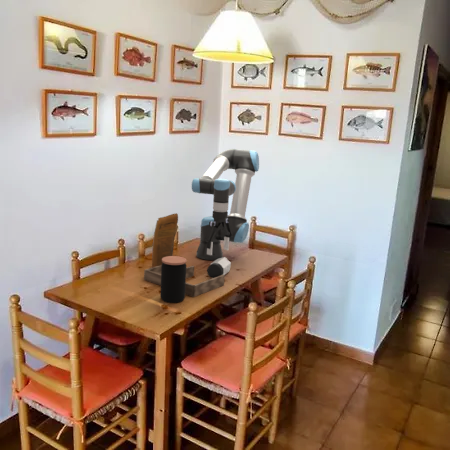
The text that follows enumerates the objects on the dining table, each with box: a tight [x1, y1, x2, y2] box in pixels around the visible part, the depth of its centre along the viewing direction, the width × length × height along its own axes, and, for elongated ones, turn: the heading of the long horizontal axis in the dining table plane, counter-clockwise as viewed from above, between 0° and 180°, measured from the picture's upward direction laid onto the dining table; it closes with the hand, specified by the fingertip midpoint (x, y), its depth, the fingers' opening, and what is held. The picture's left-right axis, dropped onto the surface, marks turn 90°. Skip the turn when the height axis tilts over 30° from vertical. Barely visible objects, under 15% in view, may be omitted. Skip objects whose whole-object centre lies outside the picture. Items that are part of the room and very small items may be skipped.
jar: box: [206, 256, 232, 279], centre depth 237 cm, size 9×8×12 cm
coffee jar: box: [160, 255, 188, 304], centre depth 200 cm, size 11×11×18 cm
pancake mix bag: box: [151, 213, 179, 268], centre depth 244 cm, size 7×19×28 cm, turn 144°
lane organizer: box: [143, 265, 226, 298], centre depth 224 cm, size 22×32×5 cm
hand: (217, 252), depth 233 cm, fingers open, 13 cm apart
